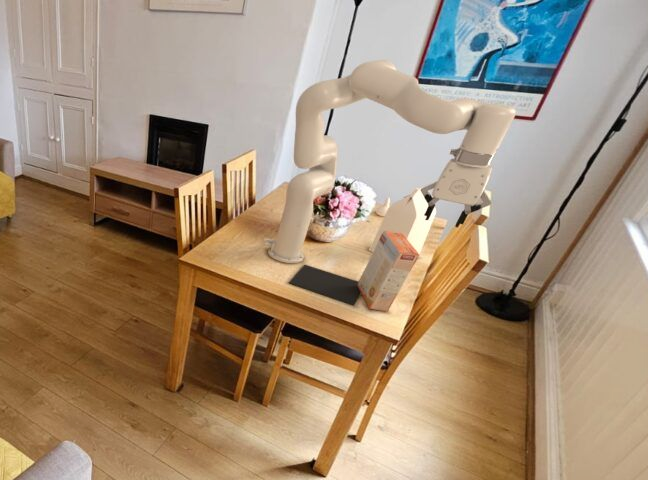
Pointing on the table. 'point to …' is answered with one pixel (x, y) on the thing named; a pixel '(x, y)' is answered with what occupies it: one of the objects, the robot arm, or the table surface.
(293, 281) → the mat
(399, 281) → the cracker box
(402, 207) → the milk
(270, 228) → the table surface
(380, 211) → the garlic bulb
